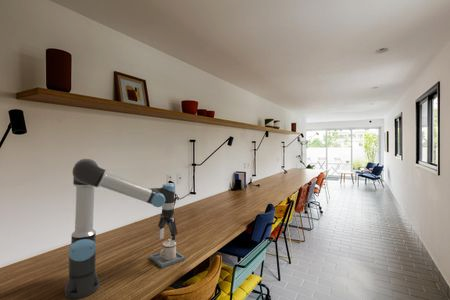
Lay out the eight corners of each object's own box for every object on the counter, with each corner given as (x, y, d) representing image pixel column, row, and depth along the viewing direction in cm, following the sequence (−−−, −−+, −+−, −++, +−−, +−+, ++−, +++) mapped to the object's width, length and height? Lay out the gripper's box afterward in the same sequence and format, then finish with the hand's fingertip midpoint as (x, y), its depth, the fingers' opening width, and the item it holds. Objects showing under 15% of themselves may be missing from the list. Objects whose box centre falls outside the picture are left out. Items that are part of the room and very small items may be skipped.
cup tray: (161, 268, 147) (161, 264, 147) (149, 258, 159) (149, 255, 159) (185, 259, 158) (185, 256, 158) (172, 251, 170) (172, 248, 170)
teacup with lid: (169, 253, 166) (169, 235, 165) (179, 256, 161) (179, 238, 160) (155, 260, 156) (155, 241, 155) (165, 264, 151) (165, 245, 150)
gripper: (183, 212, 151) (182, 246, 151) (163, 203, 169) (162, 234, 170) (172, 214, 146) (171, 249, 146) (153, 205, 164) (152, 237, 165)
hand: (166, 241), depth 158 cm, fingers open, 13 cm apart
